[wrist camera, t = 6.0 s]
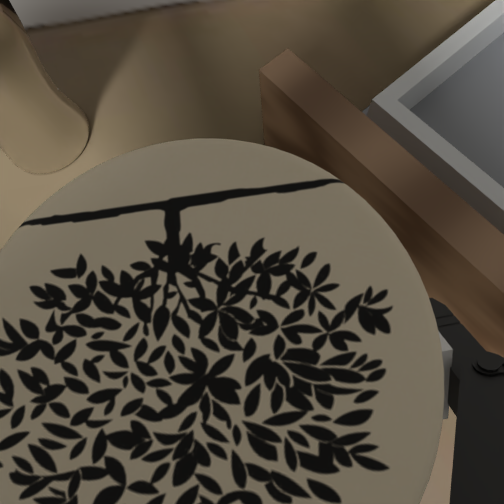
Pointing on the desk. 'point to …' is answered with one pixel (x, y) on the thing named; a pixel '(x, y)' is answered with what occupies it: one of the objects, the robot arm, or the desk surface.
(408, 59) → the desk surface
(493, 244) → the door edge rail
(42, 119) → the beer glass
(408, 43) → the desk surface
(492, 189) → the socket
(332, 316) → the travel mug
